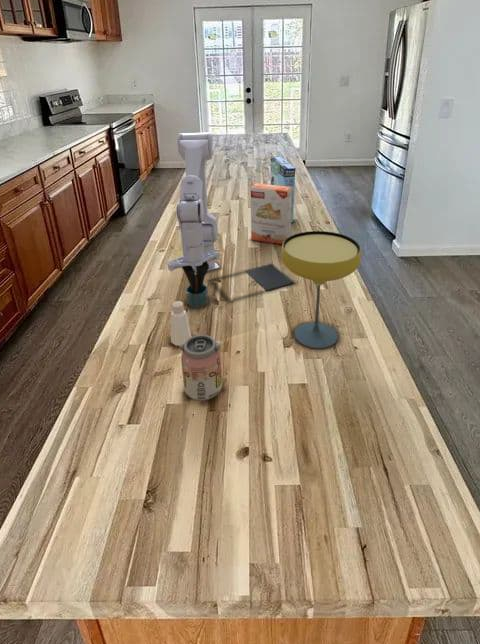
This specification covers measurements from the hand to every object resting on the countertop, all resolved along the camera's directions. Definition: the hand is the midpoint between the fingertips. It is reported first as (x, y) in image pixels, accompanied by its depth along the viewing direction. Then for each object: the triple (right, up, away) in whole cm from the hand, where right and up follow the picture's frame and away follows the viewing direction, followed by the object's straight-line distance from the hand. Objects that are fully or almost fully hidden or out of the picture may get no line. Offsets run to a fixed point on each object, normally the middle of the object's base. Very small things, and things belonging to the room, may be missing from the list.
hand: (196, 286), depth 123 cm
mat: (+16, 0, +12) cm, 20 cm away
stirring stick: (0, -4, +2) cm, 5 cm away
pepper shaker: (-2, -13, -14) cm, 19 cm away
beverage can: (+5, -20, -29) cm, 35 cm away
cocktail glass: (+32, -11, -13) cm, 36 cm away
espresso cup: (0, -5, +2) cm, 5 cm away
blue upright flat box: (+30, +26, +64) cm, 75 cm away
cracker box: (+24, +14, +41) cm, 49 cm away
